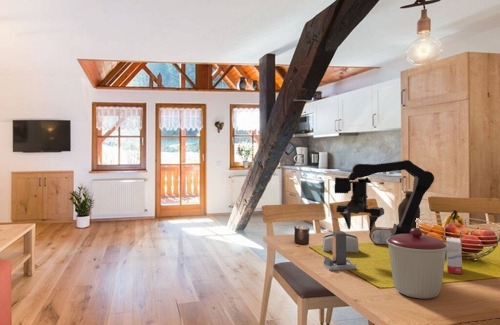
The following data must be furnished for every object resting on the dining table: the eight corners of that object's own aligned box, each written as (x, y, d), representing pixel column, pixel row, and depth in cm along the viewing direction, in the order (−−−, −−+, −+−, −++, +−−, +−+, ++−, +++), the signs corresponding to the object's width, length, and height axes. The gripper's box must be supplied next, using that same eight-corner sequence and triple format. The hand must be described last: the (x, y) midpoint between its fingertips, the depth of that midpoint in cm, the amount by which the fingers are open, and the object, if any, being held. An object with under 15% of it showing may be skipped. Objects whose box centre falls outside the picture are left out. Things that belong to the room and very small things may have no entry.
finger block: (342, 262, 139) (342, 231, 139) (346, 265, 135) (346, 233, 135) (332, 263, 138) (332, 231, 138) (336, 266, 134) (335, 233, 134)
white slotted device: (357, 249, 162) (358, 231, 158) (359, 255, 157) (360, 237, 154) (321, 248, 164) (321, 230, 161) (322, 254, 160) (322, 236, 156)
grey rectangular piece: (349, 263, 141) (349, 255, 140) (356, 268, 134) (355, 260, 134) (323, 265, 139) (323, 256, 139) (329, 270, 133) (329, 261, 133)
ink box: (462, 275, 126) (462, 243, 126) (446, 273, 128) (446, 241, 128) (461, 268, 133) (461, 238, 133) (446, 266, 136) (446, 236, 136)
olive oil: (407, 241, 175) (406, 192, 174) (393, 236, 185) (393, 190, 185) (424, 239, 177) (424, 191, 177) (410, 235, 188) (410, 190, 187)
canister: (377, 283, 119) (376, 223, 119) (426, 281, 120) (426, 221, 120) (404, 306, 101) (403, 235, 101) (462, 303, 102) (462, 233, 102)
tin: (401, 244, 169) (401, 227, 169) (402, 246, 166) (402, 229, 166) (369, 243, 173) (369, 226, 173) (369, 244, 170) (369, 227, 170)
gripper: (330, 194, 143) (330, 230, 144) (375, 197, 131) (375, 237, 132) (341, 191, 152) (341, 226, 152) (384, 194, 140) (384, 232, 140)
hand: (359, 230), depth 144 cm, fingers open, 9 cm apart
